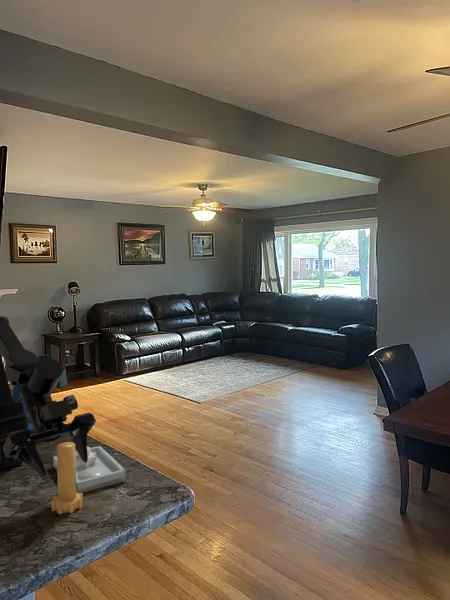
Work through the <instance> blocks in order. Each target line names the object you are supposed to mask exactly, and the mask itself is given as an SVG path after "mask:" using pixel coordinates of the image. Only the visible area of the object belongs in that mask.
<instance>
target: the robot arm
mask: <svg viewBox="0 0 450 600" xmlns="http://www.w3.org/2000/svg"><path fill="white" fill-rule="evenodd" d="M3 359H4V360H3ZM4 361H5V364H6V365H4ZM63 370H64V367H63V364H62V363H60V362H59V361H57V360H55V359H54V358H51V357H49V355H48V354H42V355H41V354H39V355H38V356H37V355H36V353H35V352H32V351H30V350H28V349H25V347H24V346H23V345H22V342H21V341H20V339H19V338H18V337H17V335H16V333H15V331H14V330H13V328H12V327H11V325H10V321H9V319H8V317H6V316H4V315H1V316H0V471H1V470H5V469H9V468H13V467H19V466H22V465H23V463H24V464H26V465H27V466H29V468H32V470H34V471H35V472H36V473H37V474H39V475H40V476H41V477H42V478H45V477H46V476H47V472H46V469H45V465H44V464H43V460H42V459H41V457H40V455H39V452H38V451H37V446H36V443H37V442H41V441H45V440H49V439H48V438H52V437H55V436H58V437H60V436H62V435H65V434H70V436H71V437H72V439H71V442H73V443H75V451H78V453H79V455H80V457H81V459H82V460H83V462H84V463H86V462H87V461H88V455H87V446H88V434H89V433H90V431H92V428H93V426H94V425H95V424H96V422H97V420H96V417H95V416H94V414H93V413H91V412H89V411H87V412H86V413H85V412H84V413H81V414H77V415H75V416H74V417H73V419H72V421H71V422H69V423H64V422H66V421H67V420H68V417H67V416H69V415H72V414H73V411H75V410H77V409H78V408H79V404H78V400H77V398H76V396H75V394H70V395H67V396H65V397H63V399H62V400H55V399H54V400H53V398H52V394H51V395H50V392H51V393H52V392H53V391H54V389H55V388H56V386H57V385H58V384H57V383H58V381H59V379H60V377H61V375H62V373H63ZM9 383H10V384H9ZM22 384H25V385H24V386H23V387H22V389H21V391H20V396H19V401H20V402H16V401H15V400H14V399H13V398H12V397H13V394H12V391H11V389H10V388H11V386H13V387H14V386H16V385H22ZM56 384H57V385H56ZM10 385H11V386H10ZM21 401H23V403H24V406H25V408H26V411H27V414H28V419H27V416H26V415H25V413H24V409H23V405H22V403H21ZM28 423H32V426H33V428H34V431H35V433H31V432H30V430H29V429H27V428H28ZM59 435H60V436H59Z"/></svg>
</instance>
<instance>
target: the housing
mask: <svg viewBox="0 0 450 600" xmlns="http://www.w3.org/2000/svg"><path fill="white" fill-rule="evenodd" d="M87 455H88V461H87V462H86V463H84V462H83V460H82V459H81V457H80V455H79V453H78V451H77V450H75V457H76V491H77V493H79V494H80V493H82V494H83V493H86V492H90V491H95V490H98V489H102V488H105V487H109V486H113V485H116V484H120V483H124V482H127V469H125V468H124V467H123V466H122V465H121V464H120V463H119V462H117V460H116V459H115V458H114V457H112V456H111V454H109V453H108V451H106V450H105V449H104V448H103V447H102V446H101V445H98V446H93V447H90V446H88V445H87ZM52 463H53V464H52V465H53V467H54V469H55V470H56V471H57V455H53V456H52Z"/></svg>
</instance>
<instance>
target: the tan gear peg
mask: <svg viewBox="0 0 450 600" xmlns="http://www.w3.org/2000/svg"><path fill="white" fill-rule="evenodd" d="M75 451H76V448H75V443H73V442H72V441H65V442H61V443H58V444H57V445H56V456H57V470H56V472H57V473H56V474H57V495H54V496H52V501H51V511H52V512H57V514H58V515H62V514H65V513H66V514H67V513H70V514H73V513H74V511H76V510H77V509H82V508H83V503H84V494H83V493H80V494H79V493H77V491H76V457H75Z"/></svg>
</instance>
